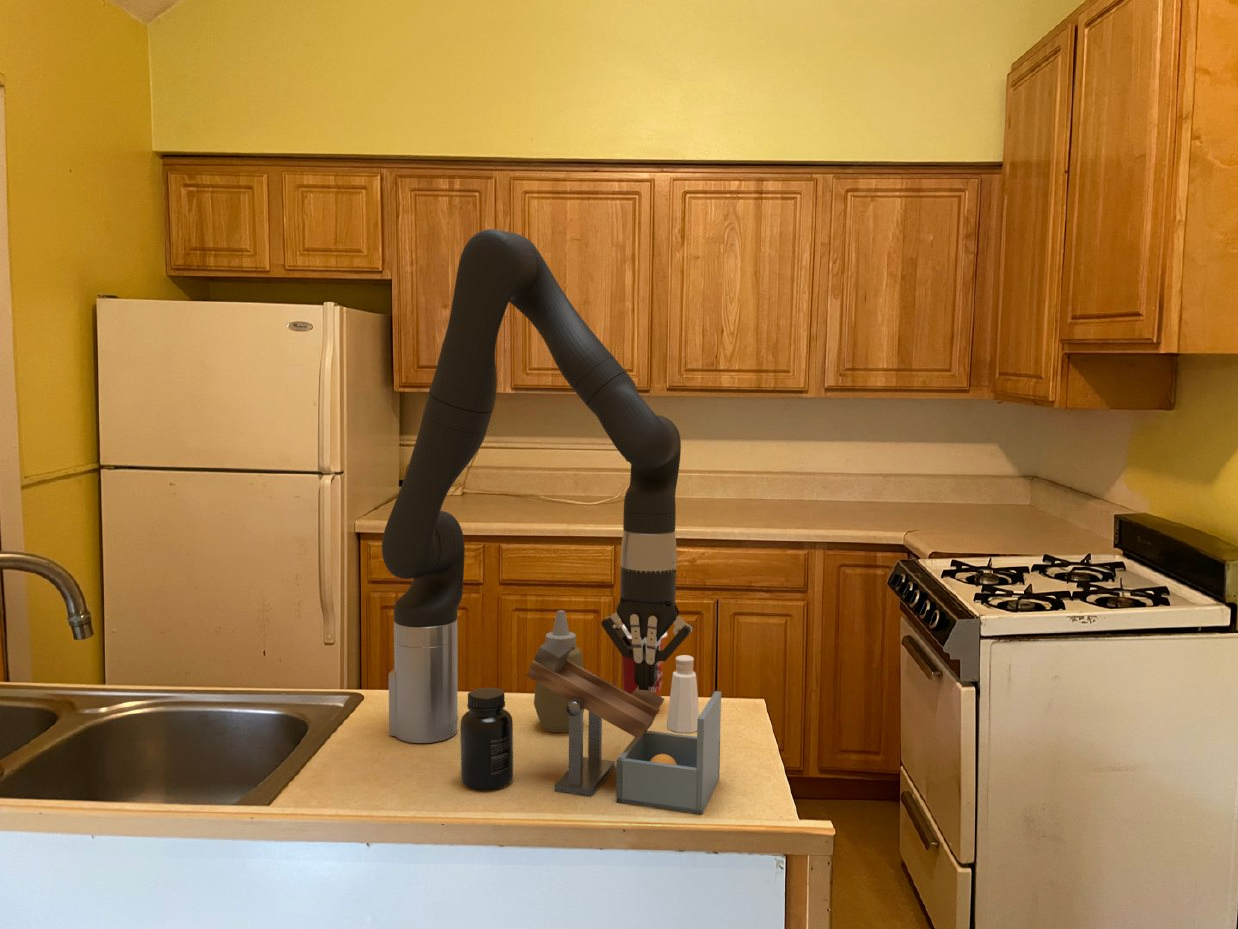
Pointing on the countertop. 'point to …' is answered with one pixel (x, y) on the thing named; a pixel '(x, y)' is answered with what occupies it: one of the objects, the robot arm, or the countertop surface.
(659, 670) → the paper cup
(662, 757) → the ball
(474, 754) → the supplement bottle
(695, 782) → the cup
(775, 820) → the countertop surface
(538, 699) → the squeeze bottle
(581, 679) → the lever
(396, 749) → the countertop surface
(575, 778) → the pivot stand
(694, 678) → the salt shaker
